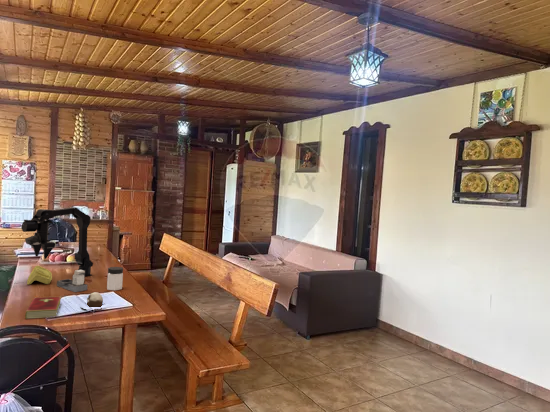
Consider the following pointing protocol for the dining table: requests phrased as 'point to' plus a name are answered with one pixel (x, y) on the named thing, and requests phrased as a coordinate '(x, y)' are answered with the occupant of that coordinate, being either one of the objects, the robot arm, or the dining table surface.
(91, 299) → the skull
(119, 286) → the jar
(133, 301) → the dining table surface
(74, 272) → the beige rectangular block
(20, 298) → the dining table surface
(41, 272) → the plastic component
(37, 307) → the hardcover book
